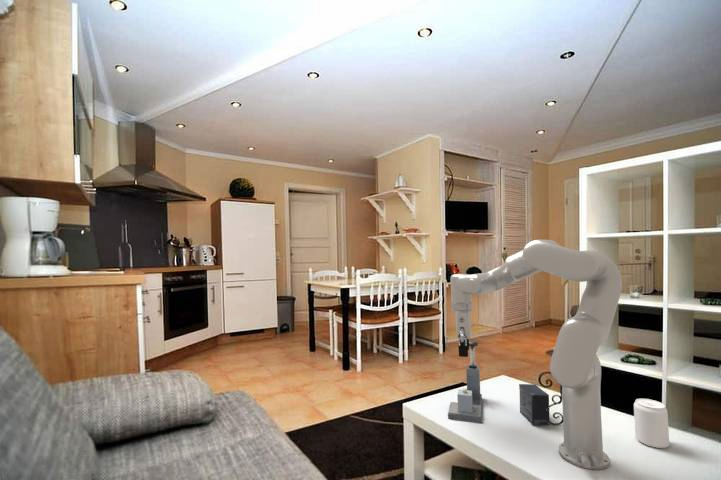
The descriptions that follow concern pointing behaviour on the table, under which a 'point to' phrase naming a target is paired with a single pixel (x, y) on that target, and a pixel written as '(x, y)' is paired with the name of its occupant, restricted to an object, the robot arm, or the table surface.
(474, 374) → the press
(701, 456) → the table surface
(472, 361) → the plunger
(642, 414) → the white cylindrical container
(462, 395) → the housing
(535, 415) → the small box
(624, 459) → the table surface
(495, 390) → the table surface
